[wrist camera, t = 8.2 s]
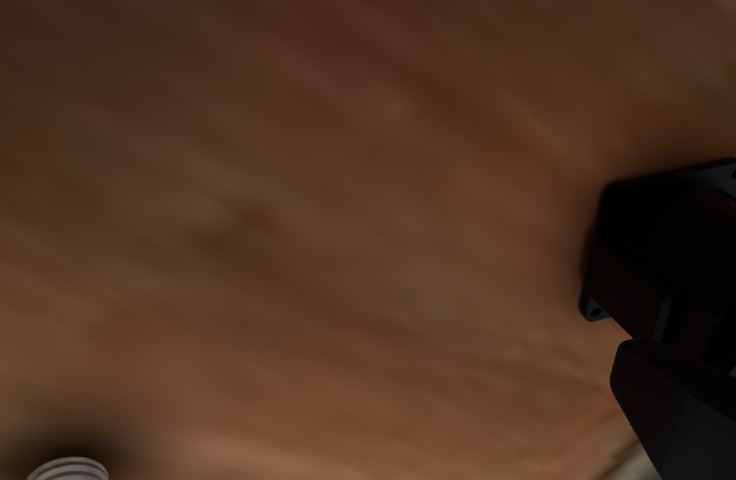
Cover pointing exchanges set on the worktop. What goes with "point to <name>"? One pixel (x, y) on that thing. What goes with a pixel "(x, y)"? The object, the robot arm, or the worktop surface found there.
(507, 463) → the worktop surface
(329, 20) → the worktop surface
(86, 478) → the lightbulb
